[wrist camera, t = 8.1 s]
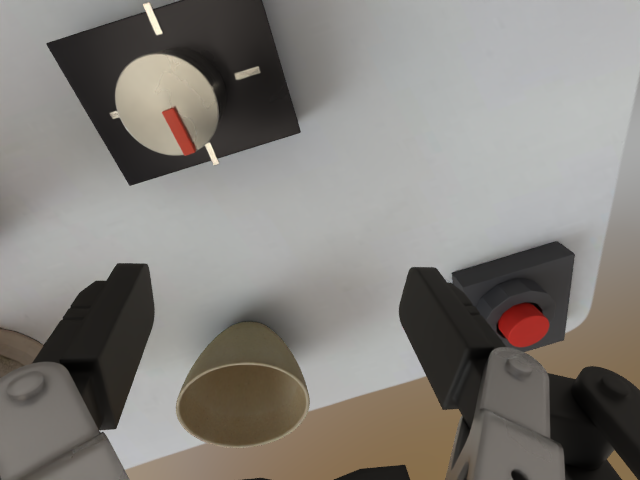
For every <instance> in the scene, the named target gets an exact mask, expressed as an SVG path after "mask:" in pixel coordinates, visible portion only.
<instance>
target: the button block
mask: <svg viewBox="0 0 640 480" xmlns="http://www.w3.org/2000/svg"><path fill="white" fill-rule="evenodd" d="M574 256H575V254H574V253H573V252H572V251H570V250H569V249H567V248H566V247H565V246H563V245H562V244H560V243H559V242H558V241H557V242H553V243H550V244H547V245H543V246H540V247H537V248H534V249H530V250H527V251H524V252H520V253H517V254H514V255H511V256H507V257H504V258H501V259H497V260H494V261H491V262H488V263H484V264H481V265H478V266H474V267H471V268H468V269H465V270H461V271H458V272H455V273H452V277H453V285H454V286H456V287H457V288H459V289H460V290H461V291H463V292H464V293H465V294H466V296H467V297H468V298H469V299H470V301H471V302H472V303H473V306H475V307H476V308H477V310H478V311H479V312H480V315H482V316H483V317H484V319H485V320H486V321H487V323H488V324H489V325H490V326H491V328H492V329H493V330H494V332H495V333H496V334H497V335H498V337H499V338H500V339H501V340H502V342H503V343H504V344H505V346H506V347H509V348H514V349H517V350H520V351H522V352H526V351H529V350H533V349H536V348H539V347H542V346H546V345H549V344H552V343H556V342H559V341H563V340H564V336H565V328H566V320H567V312H568V304H569V296H570V288H571V280H572V272H573V264H574ZM521 303H530V304H533V305H534V306H535V307H536V308H537V309H538V310H539V311H540V312H541V313H542V314H543V315H544V316H545V317H546V318H547V319H548V321H549V329H548V332H547V333H546V335H545V336H544V337H543V338H542V339H541V340H539V341H538V342H536V343H534V344H532V345H530V346H526V347H516V346H513V345H512V344H510V342H509V341H508V340H507V339H506V337H505V336H504V335H503V334H502V332H501V331H500V330H499V328H498V321H499V319H500V317H501V316H502V314H503V313H504V312H505V311H507V310H508V309H510V308H511V307H512V306H514V305H517V304H521Z"/></svg>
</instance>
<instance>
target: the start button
mask: <svg viewBox="0 0 640 480" xmlns="http://www.w3.org/2000/svg"><path fill="white" fill-rule="evenodd" d="M498 328H499V330H500V331H501V332H502V334H503V335H504V336H505V337H506V339H507V340H508V341H509V342H510V344H512V345H513V346H516V347H526V346H530V345H532V344H534V343H536V342H538V341H539V340H541V339H542V338H543V337H544V336H545V335H546V333H547V332H548V329H549V321H548V319H547V318H546V317H545V316H544V315H543V314H542V313H541V312H540V311H539V310H538V309H537V308H536V307H535V306H534V305H533V304H530V303H521V304H517V305H514V306H512V307H511V308H510V309H508V310H507V311H505V312H504V313H503V314H502V316H501V317H500V319H499V321H498Z"/></svg>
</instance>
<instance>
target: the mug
mask: <svg viewBox="0 0 640 480" xmlns="http://www.w3.org/2000/svg"><path fill="white" fill-rule="evenodd" d="M42 347H43V345H42V344H40V343H39V342H38V341H36V340H34V339H32V338H29V337H27V336H25V335H22V334H20V333H17V332H14V331H9V330H4V329H0V378H2V377H3V376H5V375H6V374H8V373H10V372H11V371H13V370H15V369H18V368H20V367H23V366H25V365H29V364H32V362H33V361H34V359H35V358H36V356H37V355H38V353H39V352H40V350H41V349H42Z"/></svg>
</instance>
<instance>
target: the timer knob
mask: <svg viewBox="0 0 640 480" xmlns="http://www.w3.org/2000/svg"><path fill="white" fill-rule="evenodd" d="M115 103H116V108H117V112H118V114H119V117H120V119H121V121H122V123H123V125H124V126H125V128H126V129H127V131H128V132H129V133H130V134H131V135H132V136H133V137H134V138H135V139H136V140H137V141H138V142H139V143H141V144H142V145H143V146H145V147H147V148H148V149H150V150H153V151H155V152H158V153H161V154H165V155H172V156H180V155H184V156H186V155H189V154H192V153H195V152H196V151H197V150H199V149H201V148H202V147H203V146H205V145H206V144H207V143H208V142H209V140H210V139H211V138H212V136H213V135H214V133H215V130H216V128H217V126H218V123H219V121H220V119H221V116H222V114H223V112H224V109H225V105H226V89H225V84H224V82H223V79H222V77H221V75H220V73H219V71H218V70H217V68H216V67H215V66H214V65H213V64H212V63H211V62H210V61H209V60H208V59H207V58H206V57H204V56H203V55H201V54H199V53H197V52H195V51H193V50H189V49H185V48H170V49H166V50H162V51H158V52H154V53H150V54H146V55H142V56H140V57H138V58H136V59H134V60H133V61H131V62H130V63H129V64H128V65H127V66H126V67H125V68H124V69H123V71H122V72H121V74H120V76H119V78H118V80H117V83H116V88H115Z"/></svg>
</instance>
